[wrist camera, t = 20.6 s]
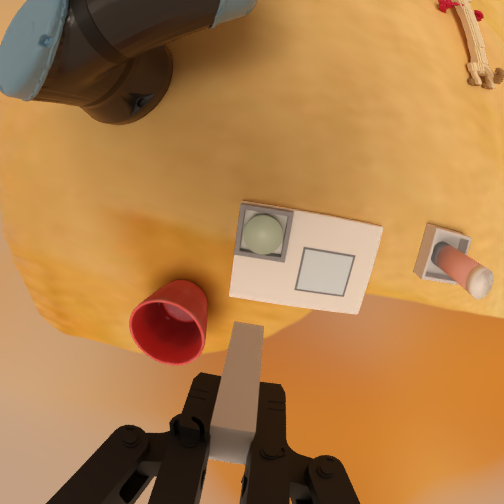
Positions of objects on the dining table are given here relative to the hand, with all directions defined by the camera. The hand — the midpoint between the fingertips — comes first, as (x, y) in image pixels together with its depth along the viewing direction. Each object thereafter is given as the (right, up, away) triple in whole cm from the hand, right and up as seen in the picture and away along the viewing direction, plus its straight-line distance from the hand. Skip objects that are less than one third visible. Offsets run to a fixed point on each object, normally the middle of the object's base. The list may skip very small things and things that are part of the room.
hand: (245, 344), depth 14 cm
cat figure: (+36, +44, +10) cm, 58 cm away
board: (+8, +4, +25) cm, 27 cm away
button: (+2, +7, +23) cm, 24 cm away
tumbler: (+30, +5, +23) cm, 38 cm away
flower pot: (-10, -3, +29) cm, 31 cm away
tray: (+30, +5, +23) cm, 38 cm away
